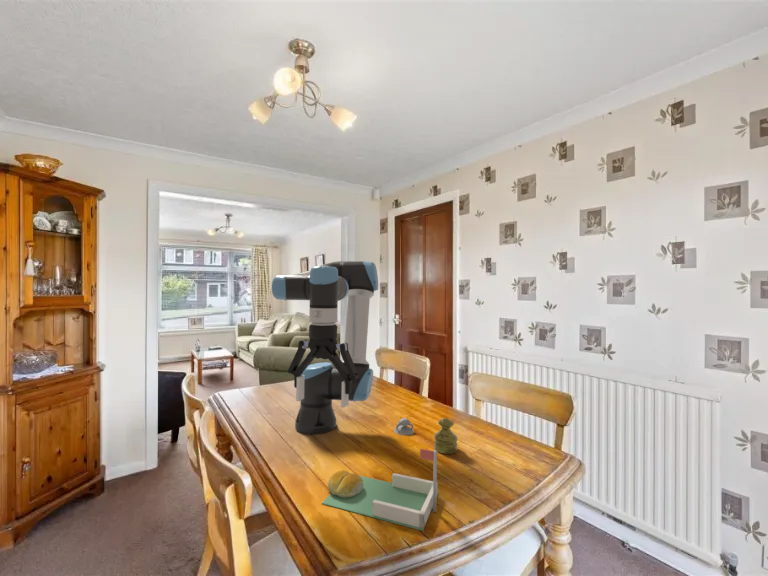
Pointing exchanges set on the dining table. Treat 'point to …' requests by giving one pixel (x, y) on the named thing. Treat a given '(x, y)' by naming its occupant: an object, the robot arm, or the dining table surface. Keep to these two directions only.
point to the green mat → (379, 492)
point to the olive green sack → (445, 438)
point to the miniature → (404, 427)
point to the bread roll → (345, 484)
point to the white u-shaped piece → (412, 484)
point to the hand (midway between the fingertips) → (322, 402)
